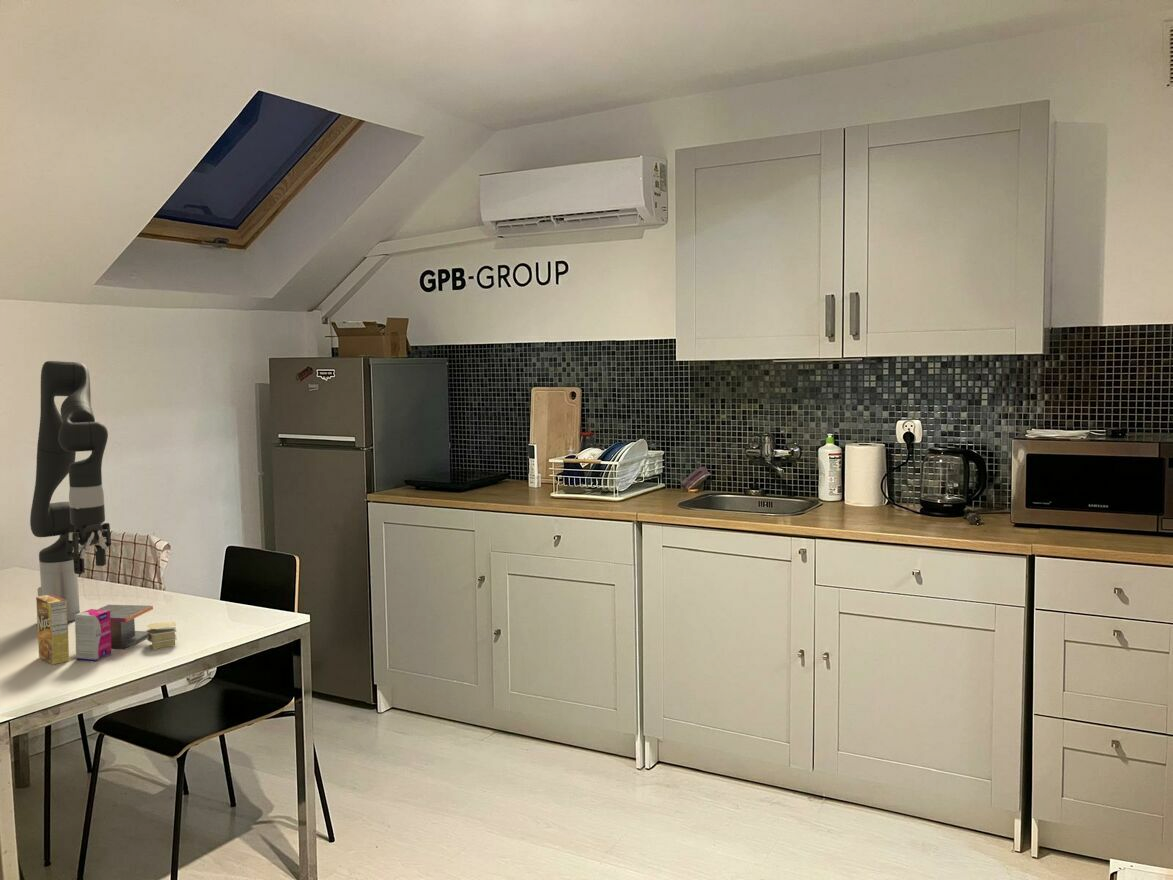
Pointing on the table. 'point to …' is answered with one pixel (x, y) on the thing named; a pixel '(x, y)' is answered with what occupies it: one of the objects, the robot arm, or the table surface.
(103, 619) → the supplement box
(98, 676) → the table surface
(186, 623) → the table surface
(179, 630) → the table surface
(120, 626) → the stand
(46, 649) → the candy box
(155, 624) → the tan layered block
